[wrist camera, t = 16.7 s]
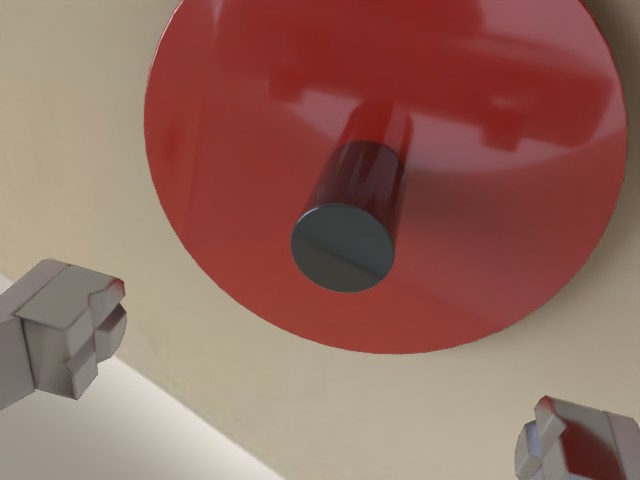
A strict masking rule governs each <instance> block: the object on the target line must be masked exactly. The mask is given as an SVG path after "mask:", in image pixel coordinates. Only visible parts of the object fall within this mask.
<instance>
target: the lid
mask: <svg viewBox="0 0 640 480" xmlns="http://www.w3.org/2000/svg"><path fill="white" fill-rule="evenodd" d="M144 135H145V145H146V155H147V159H148V164H149V168H150V173H151V177H152V181H153V184H154V187H155V189H156V192H157V195H158V198H159V201H160V204H161V206H162V208H163V210H164V212H165V214H166V216H167V218H168V220H169V222H170V224H171V226H172V228H173V230H174V231H175V233H176V234H177V236H178V238H179V239H180V241H181V242H182V244H183V246H184V247H185V249H186V250H187V251H188V253H189V254H190V255H191V256H192V258H193V259H194V260H195V261H196V263H197V264H198V265H199V266H200V268H201V269H202V270H203V271H204V272H205V273H206V274H207V275H208V276H209V277H210V278H211V279H212V280H213V281H214V282H215V283H216V284H217V285H218V286H219V287H220V288H221V289H222V290H224V291H225V292H226V293H227V294H228V295H230V296H231V297H232V298H233V299H234V300H236V301H237V302H238V303H239V304H241V305H242V306H244V307H245V308H247V309H248V310H250V311H251V312H253V313H254V314H256V315H257V316H259V317H261V318H262V319H264V320H266V321H268V322H270V323H271V324H273V325H275V326H277V327H279V328H281V329H283V330H286V331H288V332H290V333H292V334H295V335H297V336H299V337H302V338H305V339H308V340H311V341H314V342H317V343H320V344H323V345H327V346H331V347H336V348H340V349H345V350H349V351H357V352H365V353H373V354H412V353H425V352H431V351H437V350H443V349H448V348H453V347H456V346H460V345H463V344H467V343H470V342H474V341H477V340H479V339H482V338H484V337H487V336H489V335H492V334H494V333H497V332H499V331H501V330H503V329H505V328H507V327H509V326H511V325H512V324H514V323H516V322H518V321H520V320H522V319H524V318H525V317H526V316H528V315H529V314H531V313H532V312H534V311H535V310H536V309H538V308H539V307H541V306H542V305H544V304H545V303H546V302H548V301H549V300H550V299H551V298H552V297H553V296H554V295H555V294H556V293H557V292H559V291H560V290H561V289H562V288H563V287H564V286H565V285H566V284H567V283H568V282H569V281H570V280H571V279H572V278H573V276H574V275H575V274H576V273H577V272H578V271H579V269H580V268H581V267H582V266H583V265H584V264H585V262H586V261H587V259H588V258H589V256H590V255H591V253H592V252H593V250H594V249H595V247H596V246H597V244H598V242H599V241H600V239H601V238H602V236H603V234H604V232H605V229H606V227H607V225H608V223H609V221H610V219H611V217H612V214H613V212H614V210H615V207H616V204H617V201H618V197H619V194H620V190H621V187H622V184H623V180H624V175H625V167H626V160H627V153H628V113H627V107H626V102H625V96H624V90H623V85H622V79H621V76H620V74H619V71H618V68H617V65H616V62H615V59H614V57H613V54H612V51H611V48H610V45H609V43H608V42H607V40H606V38H605V36H604V34H603V32H602V31H601V29H600V27H599V25H598V23H597V22H596V20H595V18H594V16H593V14H592V12H591V11H590V10H589V8H588V7H587V6H586V5H585V3H584V2H583V1H582V0H181V1H180V3H179V4H178V6H177V7H176V9H175V10H174V12H173V13H172V15H171V17H170V19H169V21H168V23H167V25H166V27H165V29H164V31H163V33H162V35H161V38H160V40H159V42H158V45H157V48H156V51H155V55H154V58H153V61H152V64H151V67H150V71H149V76H148V82H147V88H146V94H145V104H144Z"/></svg>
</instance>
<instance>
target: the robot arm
mask: <svg viewBox="0 0 640 480" xmlns="http://www.w3.org/2000/svg"><path fill="white" fill-rule="evenodd" d="M124 296H125V287H124V282H123V281H122V280H120V279H119V278H116V277H113V276H109V275H106V274H103V273H99V272H96V271H93V270H89V269H86V268H83V267H79V266H76V265H71V264H67V263H64V262H61V261H58V260H54V259H51V258H49V259H45V260H42V261H41V262H39V263H38V264H37V265H36V266H35V267H33V268H32V269H31V270H30V271H29V272H27V273H26V274H25V275H24V276H23V277H22V278H20V279H19V280H18V281H17V282H16V283H14V284H13V285H12V286H11V287H10V288H8V289H7V290H6V291H5V292H4V293H2V294H1V295H0V410H2V409H4V408H6V407H8V406H10V405H11V404H13V403H15V402H17V401H18V400H20V399H22V398H24V397H26V396H28V395H29V394H31V393H33V392H35V389H38V390H41V391H45V392H49V393H52V394H56V395H60V396H64V397H67V398H72V399H75V400H78V399H79V398H80V397H81V395H82V394H83V393H84V392H85V390H86V389H87V387H88V386H89V385H90V384H91V383H92V381H93V380H94V379H95V377H96V376H97V375H98V369H97V363H100V362H102V361H104V360H106V359H108V358H111V357H112V355H113V354H114V353H115V351H116V350H117V348H118V347H119V345H120V343H121V341H122V338H123V336H124V334H125V329H126V323H127V315H126V311H125V310H124V308H123V307H122V306H121V304H120V303H119V302H120V301H121V300H122V298H123V297H124ZM534 410H535V417H536V420H534V421H532V422H529V423H527V424H525V425H524V427H523V429H522V431H521V433H520V435H519V437H518V441H517V445H516V449H515V472H516V476H517V477H518V479H519V480H640V429H639V427H638V424H637V423H636V422H635V421H634V419H633V418H630V417H626V416H623V415H619V414H615V413H611V412H607V411H601V410H599V409H595V408H591V407H587V406H584V405H580V404H576V403H572V402H569V401H565V400H561V399H557V398H554V397H550V396H546V395H545V396H544V397H543V398H541V399H540V400H539V402H538V403H537V405H536V407H535V408H534Z"/></svg>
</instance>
